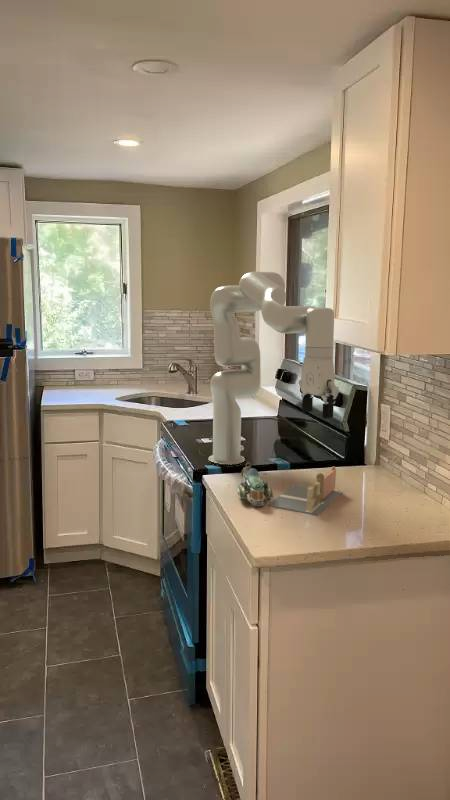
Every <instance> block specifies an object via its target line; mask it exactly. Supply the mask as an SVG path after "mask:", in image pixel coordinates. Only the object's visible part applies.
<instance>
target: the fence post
mask: <svg viewBox="0 0 450 800" xmlns="http://www.w3.org/2000/svg"><path fill="white" fill-rule="evenodd" d="M324 475H325V474H323V473H321V472H320V473H317V474H316V475H315V477H316V481H315V482H313V483H312V484H311V485H310V486H309V488H308V489H307V510H310V511H311V510H312V509H313V508H314V507H315V506H316V505H318V504H319V503H322V499H323V479H324Z"/></svg>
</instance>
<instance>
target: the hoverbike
mask: <svg viewBox="0 0 450 800" xmlns="http://www.w3.org/2000/svg"><path fill="white" fill-rule="evenodd" d="M247 464H248V463H246V464H245V467H243V469H242V470H241V472H240V473H241V477H242V481H243V482H241V483H240V484H238V486H237V491H238V492H237V495H238V497H239V501H240V502H245V501H246V499H247V498H248V495H249V498H250V503H251V505H252V506H253V508H258V506H260V507H263V506H264V504H265V500H266V501H267V502H268V501H271V499H272V498H274V494H273V489H272V487H271V486H270V485H269V484H268V482H264V480H262V479H261V478H263V477H264V476H267V473H266V472H265V473H263V474H262V476H260V475H259V472H258V470H257V468H253V467H252V465H251V463H249V465H248V466H247ZM264 499H265V500H264ZM255 506H257V507H255Z"/></svg>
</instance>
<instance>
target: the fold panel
mask: <svg viewBox="0 0 450 800" xmlns="http://www.w3.org/2000/svg"><path fill="white" fill-rule="evenodd" d="M323 475H324V479H323V499H324V498H325V497H326V496H327V495H329V494H330V493H331V492H332V491H335V490H336V480H337V478H336V476H337V468H336V466H331V469H330V470H329V471H328V472H327V473H325V474H323Z"/></svg>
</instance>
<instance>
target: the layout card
mask: <svg viewBox="0 0 450 800" xmlns="http://www.w3.org/2000/svg"><path fill="white" fill-rule="evenodd" d="M309 487H310V486H309V485H303V484H298V483H296V484H293V485H291V486H290V487H288V489H286V490H285V491H283V492H282V493H280V495H278V496H277V497H276V498H274V499H273V500H272V501H270V502H269V503H268V504H267V505H266V506H267V507H271V508H275V509H276V508H277V509H283V510H287V511H292V512H297V513H302V514H303V513H304V514H308V515H315V516H320V515H321V514H322V513H323V512H324V511H325V510H326V509H327V508H329V506H330V505H331V504H333V502H334V501H335V500H337V498H339V496H341V495H342V494H343V491H337V490H333V491H332V492H331V493H330V494H329V495H327V496H326V497H325V498H324V499H322V503H319V504H318V505H316V506H315V507H314V508H313V509H312V510H311V511H310V510H307V489H308V488H309Z"/></svg>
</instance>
